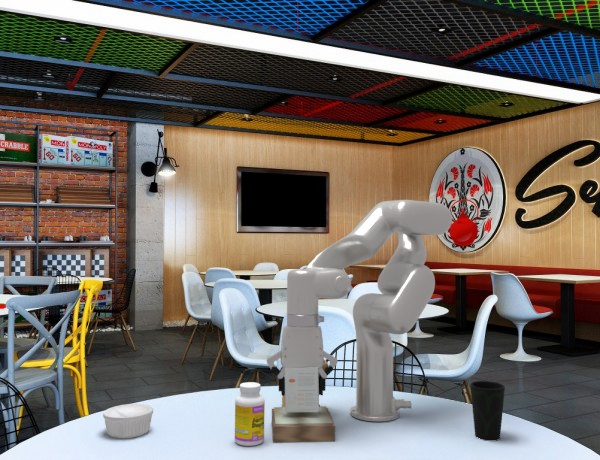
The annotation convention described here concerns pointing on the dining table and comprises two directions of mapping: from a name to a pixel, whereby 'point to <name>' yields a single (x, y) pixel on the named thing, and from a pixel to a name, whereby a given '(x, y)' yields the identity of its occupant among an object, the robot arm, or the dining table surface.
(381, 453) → the dining table surface
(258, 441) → the supplement bottle
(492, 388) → the cup
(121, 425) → the ramekin
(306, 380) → the small box
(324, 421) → the stand
